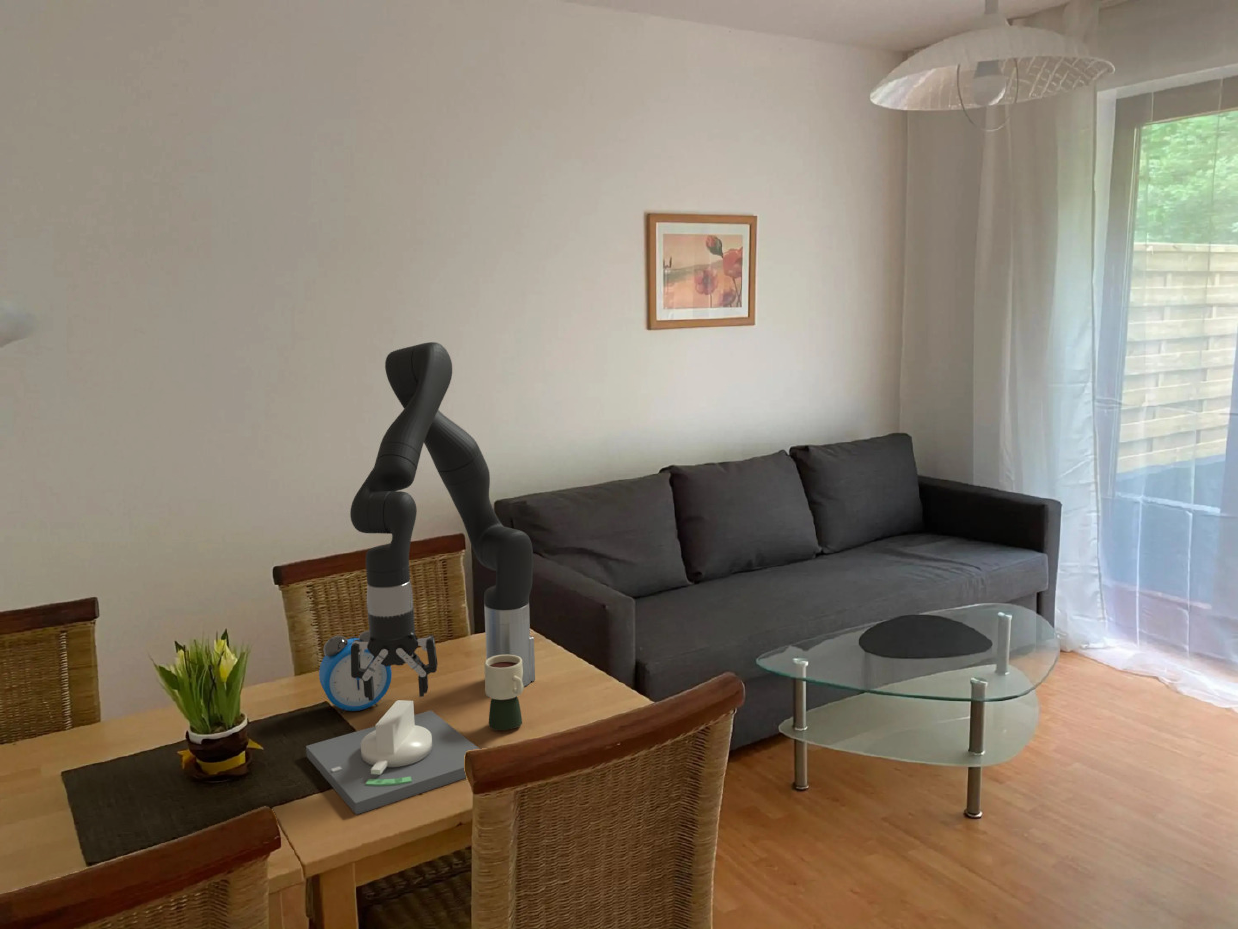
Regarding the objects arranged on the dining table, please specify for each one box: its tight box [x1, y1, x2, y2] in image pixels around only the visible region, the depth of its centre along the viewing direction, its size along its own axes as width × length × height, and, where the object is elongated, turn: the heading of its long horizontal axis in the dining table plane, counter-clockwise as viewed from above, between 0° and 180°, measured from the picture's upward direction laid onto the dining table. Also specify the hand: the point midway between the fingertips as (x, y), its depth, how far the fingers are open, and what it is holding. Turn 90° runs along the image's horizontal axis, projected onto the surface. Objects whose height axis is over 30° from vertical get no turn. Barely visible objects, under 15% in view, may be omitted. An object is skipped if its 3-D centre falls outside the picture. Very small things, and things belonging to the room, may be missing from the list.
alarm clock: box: [318, 630, 393, 714], centre depth 186 cm, size 13×6×15 cm, turn 117°
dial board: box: [305, 710, 480, 815], centre depth 164 cm, size 24×24×2 cm
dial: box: [361, 699, 432, 774], centre depth 161 cm, size 16×12×7 cm
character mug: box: [484, 655, 525, 731], centre depth 177 cm, size 11×7×13 cm, turn 40°
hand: (396, 697), depth 162 cm, fingers open, 8 cm apart
